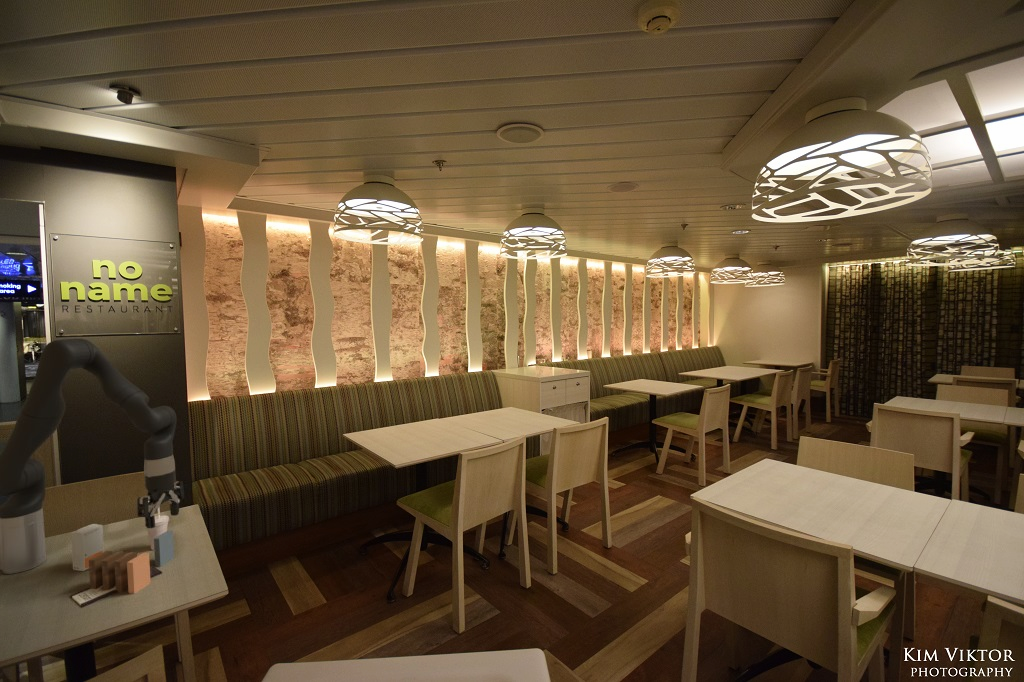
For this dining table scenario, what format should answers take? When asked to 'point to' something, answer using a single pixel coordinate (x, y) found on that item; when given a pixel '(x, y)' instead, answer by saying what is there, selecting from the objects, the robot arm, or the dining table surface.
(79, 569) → the skincare box
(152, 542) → the smoothie
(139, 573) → the domino end
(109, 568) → the domino
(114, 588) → the chocolate bar
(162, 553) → the domino
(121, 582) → the domino
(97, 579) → the domino
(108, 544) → the dining table surface
